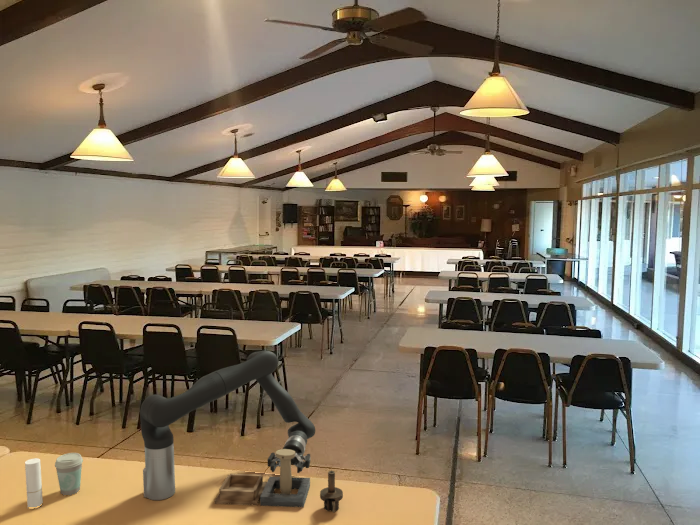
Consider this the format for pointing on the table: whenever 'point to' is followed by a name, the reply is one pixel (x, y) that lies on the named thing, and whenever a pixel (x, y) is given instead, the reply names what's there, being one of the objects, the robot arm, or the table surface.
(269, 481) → the socket block
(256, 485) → the tray
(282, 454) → the handle
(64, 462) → the coffee cup
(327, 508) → the industrial component
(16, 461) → the table surface
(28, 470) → the tube
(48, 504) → the table surface
